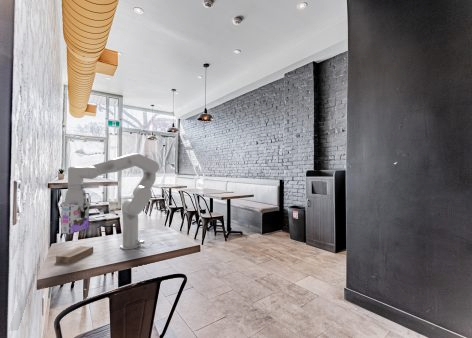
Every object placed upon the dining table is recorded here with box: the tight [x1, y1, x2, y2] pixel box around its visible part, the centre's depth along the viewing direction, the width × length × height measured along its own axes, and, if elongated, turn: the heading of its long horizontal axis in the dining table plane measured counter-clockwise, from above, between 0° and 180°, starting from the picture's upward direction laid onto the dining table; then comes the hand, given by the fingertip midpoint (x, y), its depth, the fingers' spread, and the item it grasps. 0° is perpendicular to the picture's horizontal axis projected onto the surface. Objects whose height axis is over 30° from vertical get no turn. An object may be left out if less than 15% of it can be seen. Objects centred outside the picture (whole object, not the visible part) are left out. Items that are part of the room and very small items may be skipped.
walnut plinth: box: [55, 245, 94, 265], centre depth 140 cm, size 9×17×4 cm, turn 172°
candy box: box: [60, 203, 90, 235], centre depth 139 cm, size 14×6×16 cm, turn 169°
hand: (75, 217), depth 139 cm, fingers closed on candy box, 7 cm apart
